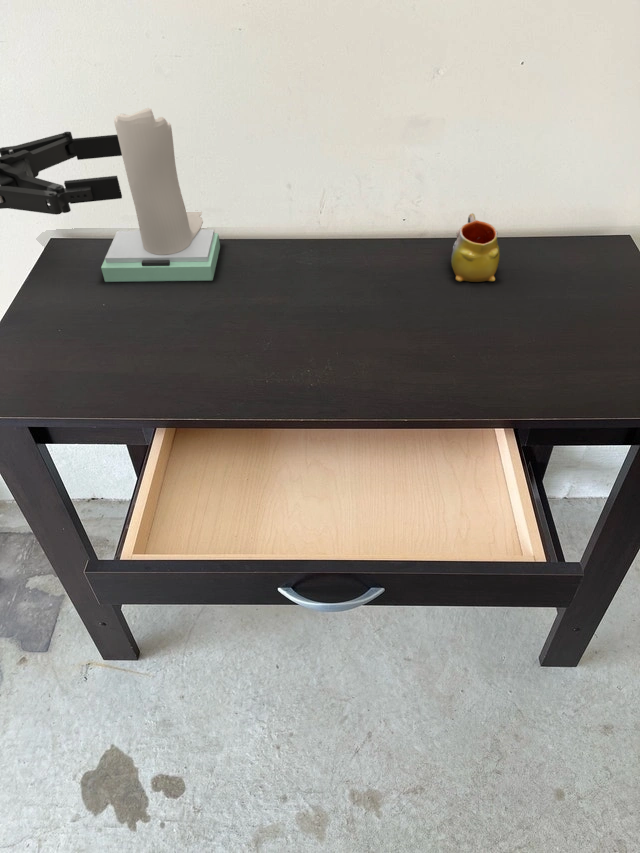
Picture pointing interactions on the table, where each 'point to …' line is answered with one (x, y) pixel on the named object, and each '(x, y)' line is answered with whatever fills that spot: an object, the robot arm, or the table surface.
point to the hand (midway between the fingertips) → (121, 164)
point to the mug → (475, 252)
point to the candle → (155, 183)
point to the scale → (160, 259)
